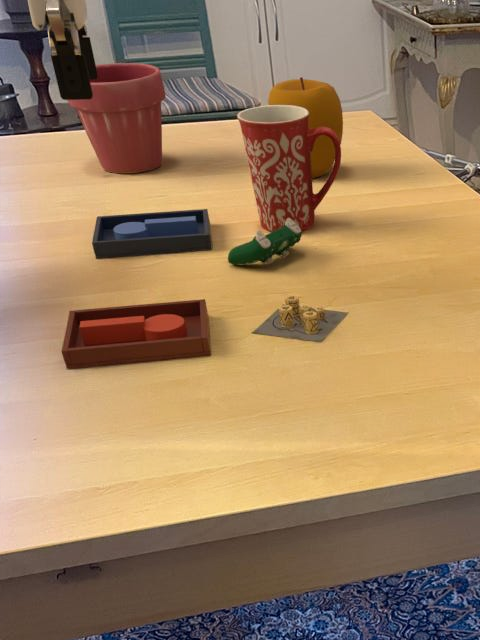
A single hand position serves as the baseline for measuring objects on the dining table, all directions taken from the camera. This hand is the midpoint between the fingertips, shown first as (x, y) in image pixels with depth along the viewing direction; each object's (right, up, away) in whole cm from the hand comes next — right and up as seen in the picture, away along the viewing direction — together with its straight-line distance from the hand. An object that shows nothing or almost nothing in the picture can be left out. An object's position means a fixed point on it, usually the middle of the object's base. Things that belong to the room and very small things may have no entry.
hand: (80, 88), depth 102 cm
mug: (+19, -4, +25) cm, 32 cm away
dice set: (+24, -25, +1) cm, 35 cm away
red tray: (+8, -28, -3) cm, 30 cm away
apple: (+18, +11, +42) cm, 47 cm away
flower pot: (-11, +14, +44) cm, 48 cm away
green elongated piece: (+17, -13, +15) cm, 26 cm away
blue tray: (+1, -8, +20) cm, 21 cm away
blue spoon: (+1, -8, +19) cm, 21 cm away
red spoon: (+7, -28, -3) cm, 29 cm away
